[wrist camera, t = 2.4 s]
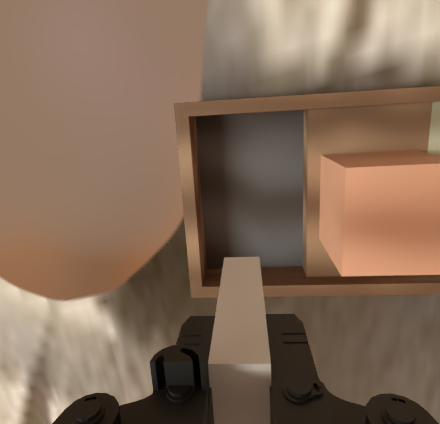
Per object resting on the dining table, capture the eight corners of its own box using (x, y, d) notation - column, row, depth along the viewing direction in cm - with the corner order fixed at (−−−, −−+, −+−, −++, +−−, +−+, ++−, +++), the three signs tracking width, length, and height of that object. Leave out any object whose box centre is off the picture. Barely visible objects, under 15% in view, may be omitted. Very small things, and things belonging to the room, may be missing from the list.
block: (320, 154, 27) (346, 167, 20) (414, 150, 26) (472, 162, 19) (319, 238, 28) (341, 276, 22) (405, 236, 28) (456, 274, 21)
